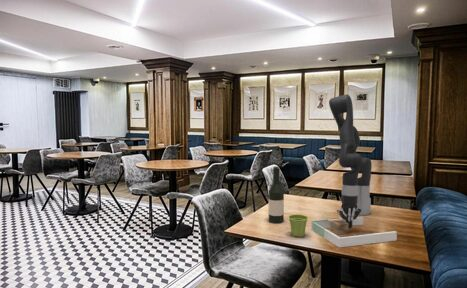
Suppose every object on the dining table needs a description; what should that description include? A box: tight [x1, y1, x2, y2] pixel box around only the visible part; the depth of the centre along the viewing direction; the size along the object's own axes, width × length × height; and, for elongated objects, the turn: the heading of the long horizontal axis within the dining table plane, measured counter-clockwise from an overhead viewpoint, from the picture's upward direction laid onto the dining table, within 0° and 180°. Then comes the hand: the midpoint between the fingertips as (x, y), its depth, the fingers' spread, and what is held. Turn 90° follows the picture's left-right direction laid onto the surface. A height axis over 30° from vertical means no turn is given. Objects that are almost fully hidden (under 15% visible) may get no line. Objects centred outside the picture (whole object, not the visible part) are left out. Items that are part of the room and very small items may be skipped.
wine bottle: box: [268, 166, 285, 225], centre depth 172 cm, size 8×8×30 cm
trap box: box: [310, 216, 398, 248], centre depth 152 cm, size 30×24×5 cm
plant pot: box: [287, 213, 309, 238], centre depth 152 cm, size 9×9×9 cm
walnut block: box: [329, 220, 349, 236], centre depth 156 cm, size 6×6×5 cm
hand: (348, 227), depth 157 cm, fingers closed
